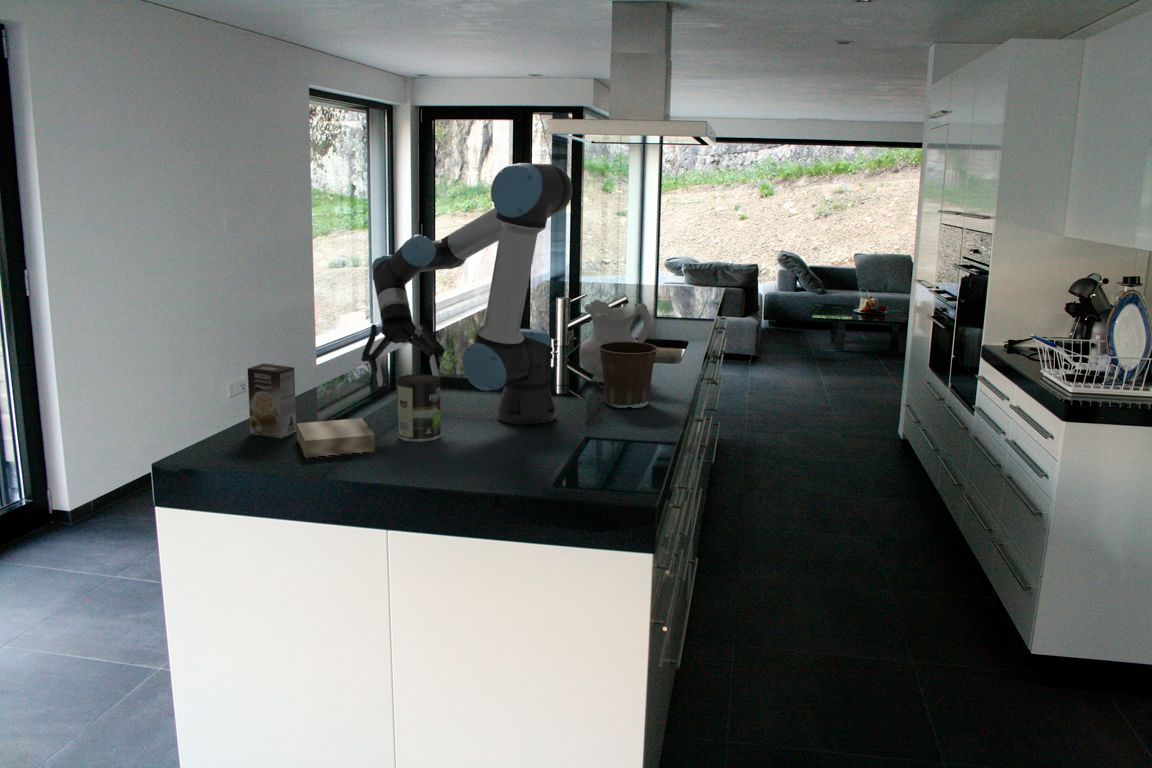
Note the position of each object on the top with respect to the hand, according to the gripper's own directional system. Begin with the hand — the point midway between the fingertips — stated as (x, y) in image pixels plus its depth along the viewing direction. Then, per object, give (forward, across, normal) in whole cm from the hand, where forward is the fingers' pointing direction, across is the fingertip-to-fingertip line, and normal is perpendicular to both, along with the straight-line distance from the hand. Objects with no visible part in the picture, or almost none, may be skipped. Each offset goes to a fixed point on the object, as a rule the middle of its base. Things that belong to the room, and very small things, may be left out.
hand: (409, 381), depth 228 cm
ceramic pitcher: (-16, -71, -33) cm, 80 cm away
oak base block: (+14, +19, -2) cm, 24 cm away
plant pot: (+3, -62, -14) cm, 63 cm away
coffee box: (+4, +31, -13) cm, 34 cm away
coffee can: (+13, -1, -4) cm, 14 cm away
